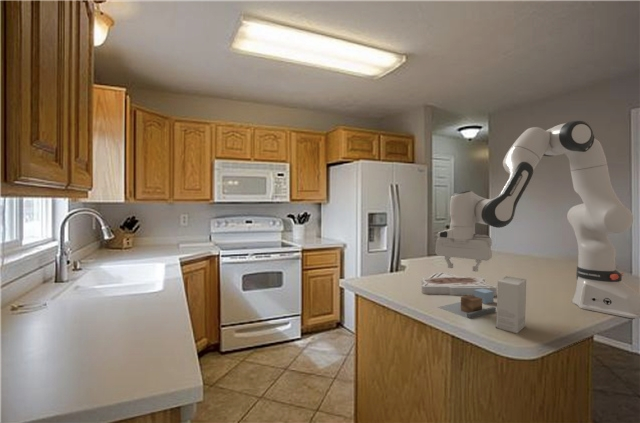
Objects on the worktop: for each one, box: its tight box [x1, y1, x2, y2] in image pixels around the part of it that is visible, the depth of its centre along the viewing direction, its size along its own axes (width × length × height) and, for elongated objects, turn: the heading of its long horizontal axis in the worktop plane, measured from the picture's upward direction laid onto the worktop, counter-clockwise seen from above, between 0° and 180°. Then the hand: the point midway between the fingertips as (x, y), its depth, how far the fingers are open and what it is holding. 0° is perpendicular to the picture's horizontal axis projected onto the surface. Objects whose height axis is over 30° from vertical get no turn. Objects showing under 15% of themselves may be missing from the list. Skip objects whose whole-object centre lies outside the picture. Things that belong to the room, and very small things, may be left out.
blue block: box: [473, 288, 495, 305], centre depth 135 cm, size 5×5×5 cm
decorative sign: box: [421, 271, 498, 297], centre depth 159 cm, size 32×4×30 cm
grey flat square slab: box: [437, 301, 497, 319], centre depth 126 cm, size 14×14×2 cm
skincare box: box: [496, 276, 527, 334], centre depth 109 cm, size 8×7×16 cm
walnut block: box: [460, 295, 483, 313], centre depth 123 cm, size 5×5×5 cm
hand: (462, 269), depth 130 cm, fingers open, 8 cm apart
